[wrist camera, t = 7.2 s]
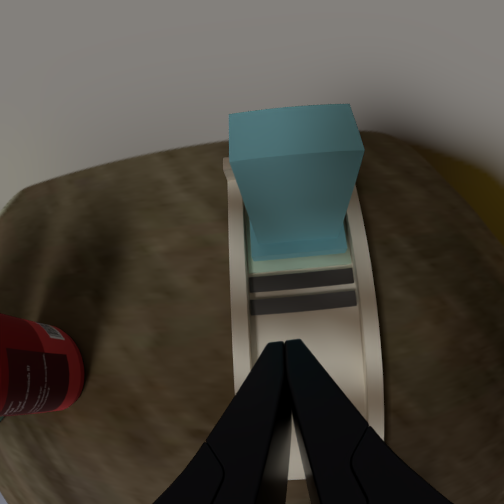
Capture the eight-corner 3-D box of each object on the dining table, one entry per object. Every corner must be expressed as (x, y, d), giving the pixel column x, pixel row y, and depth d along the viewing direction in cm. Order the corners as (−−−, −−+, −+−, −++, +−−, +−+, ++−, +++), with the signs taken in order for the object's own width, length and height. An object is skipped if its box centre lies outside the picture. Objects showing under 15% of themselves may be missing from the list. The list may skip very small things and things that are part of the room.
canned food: (23, 335, 22) (-66, 314, 12) (77, 316, 22) (-25, 285, 12) (38, 412, 20) (-54, 416, 9) (97, 405, 20) (-10, 418, 9)
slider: (345, 253, 19) (382, 166, 10) (253, 261, 20) (215, 180, 11) (335, 198, 21) (355, 92, 11) (250, 206, 21) (217, 104, 12)
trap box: (375, 463, 16) (388, 481, 12) (246, 475, 17) (236, 495, 13) (345, 172, 23) (351, 146, 20) (232, 183, 24) (223, 158, 21)
